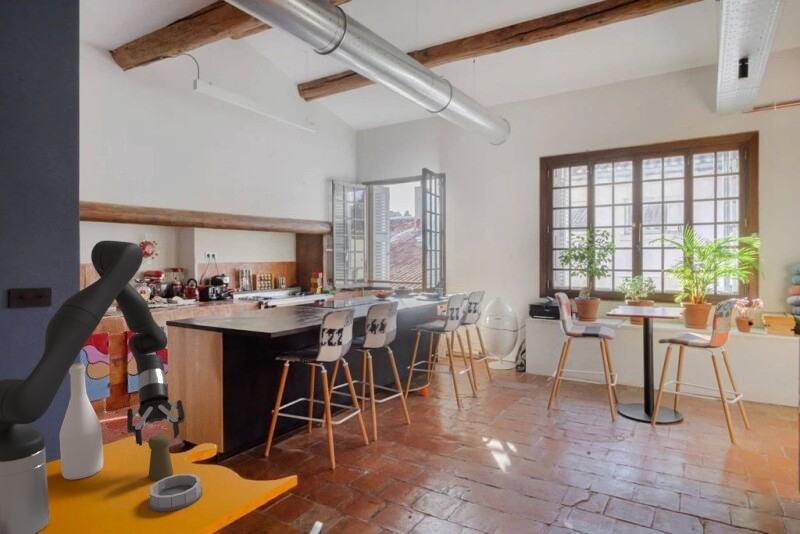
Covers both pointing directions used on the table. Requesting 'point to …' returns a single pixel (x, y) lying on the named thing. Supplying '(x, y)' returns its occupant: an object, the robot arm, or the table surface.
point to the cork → (160, 457)
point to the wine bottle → (80, 432)
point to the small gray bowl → (175, 493)
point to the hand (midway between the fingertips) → (158, 440)
